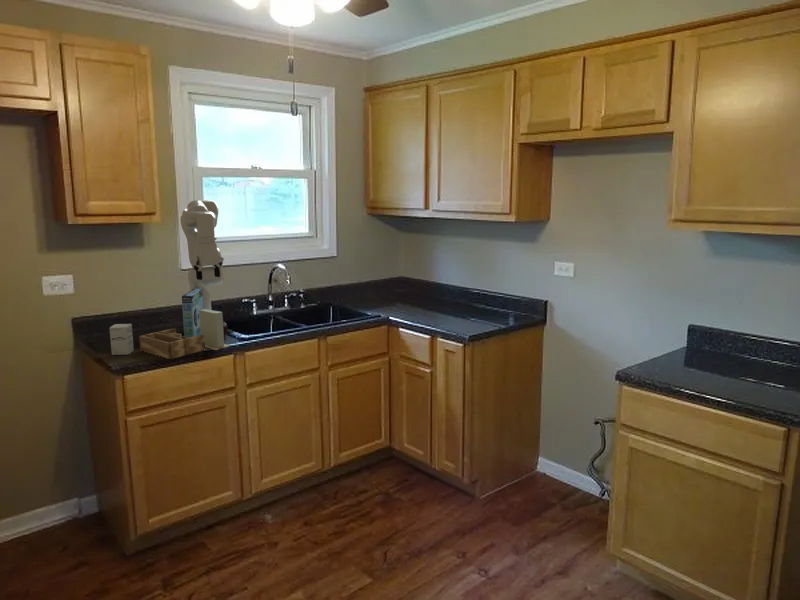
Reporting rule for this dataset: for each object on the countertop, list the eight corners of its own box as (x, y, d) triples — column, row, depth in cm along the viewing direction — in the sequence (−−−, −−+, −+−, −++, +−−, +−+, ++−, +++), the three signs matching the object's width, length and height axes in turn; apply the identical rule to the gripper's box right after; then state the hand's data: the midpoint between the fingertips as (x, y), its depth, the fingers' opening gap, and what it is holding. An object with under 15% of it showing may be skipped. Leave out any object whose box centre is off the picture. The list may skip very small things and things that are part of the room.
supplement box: (111, 355, 260) (108, 327, 257) (117, 350, 267) (114, 323, 265) (128, 354, 260) (126, 327, 258) (134, 350, 268) (132, 323, 265)
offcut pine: (171, 339, 275) (170, 332, 274) (181, 340, 273) (181, 333, 272) (164, 341, 271) (164, 335, 270) (175, 342, 269) (174, 336, 268)
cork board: (210, 342, 282) (210, 340, 281) (229, 346, 274) (229, 345, 274) (196, 345, 275) (196, 344, 275) (215, 350, 267) (215, 349, 267)
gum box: (195, 333, 299) (192, 288, 295) (206, 332, 299) (203, 288, 295) (184, 343, 280) (180, 295, 276) (195, 342, 280) (191, 295, 276)
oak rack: (175, 342, 281) (174, 328, 280) (205, 349, 268) (204, 334, 267) (140, 351, 266) (139, 336, 265) (170, 359, 254) (168, 343, 253)
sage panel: (207, 342, 279) (205, 309, 276) (224, 345, 273) (222, 312, 269) (201, 343, 276) (199, 310, 273) (217, 347, 270) (215, 313, 267)
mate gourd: (231, 337, 289) (229, 308, 286) (219, 341, 283) (217, 311, 280) (220, 336, 293) (218, 306, 290) (207, 339, 286) (205, 309, 283)
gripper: (216, 238, 274) (218, 275, 278) (184, 241, 260) (187, 279, 264) (227, 239, 270) (229, 276, 273) (195, 242, 256) (197, 281, 259)
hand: (208, 278), depth 268 cm, fingers open, 9 cm apart
